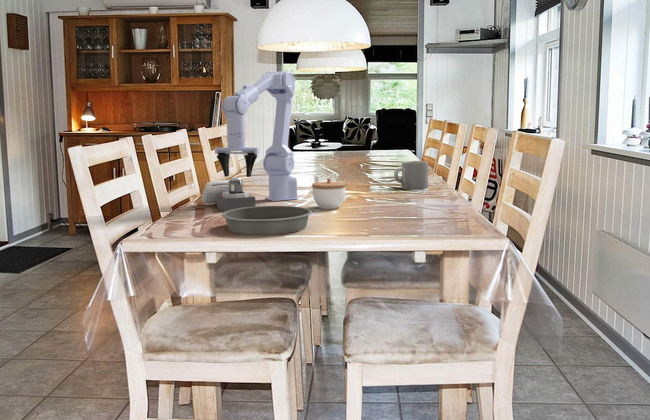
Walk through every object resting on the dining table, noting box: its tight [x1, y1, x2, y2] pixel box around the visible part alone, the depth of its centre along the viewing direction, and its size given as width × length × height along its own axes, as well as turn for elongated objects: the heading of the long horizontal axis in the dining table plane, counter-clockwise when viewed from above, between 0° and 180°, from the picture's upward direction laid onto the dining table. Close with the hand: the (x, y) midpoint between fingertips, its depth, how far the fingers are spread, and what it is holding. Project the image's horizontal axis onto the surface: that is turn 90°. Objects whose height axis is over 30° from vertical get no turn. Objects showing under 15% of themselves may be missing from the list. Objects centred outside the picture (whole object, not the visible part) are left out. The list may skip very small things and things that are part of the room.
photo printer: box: [201, 179, 229, 205], centre depth 236 cm, size 10×4×12 cm
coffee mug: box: [393, 160, 429, 190], centre depth 275 cm, size 13×10×10 cm
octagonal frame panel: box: [216, 190, 256, 212], centre depth 229 cm, size 10×9×5 cm
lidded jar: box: [311, 177, 347, 210], centre depth 228 cm, size 11×11×9 cm
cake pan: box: [221, 205, 313, 235], centre depth 195 cm, size 25×25×4 cm
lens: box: [228, 177, 244, 194], centre depth 228 cm, size 4×4×6 cm
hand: (237, 176), depth 229 cm, fingers open, 7 cm apart
